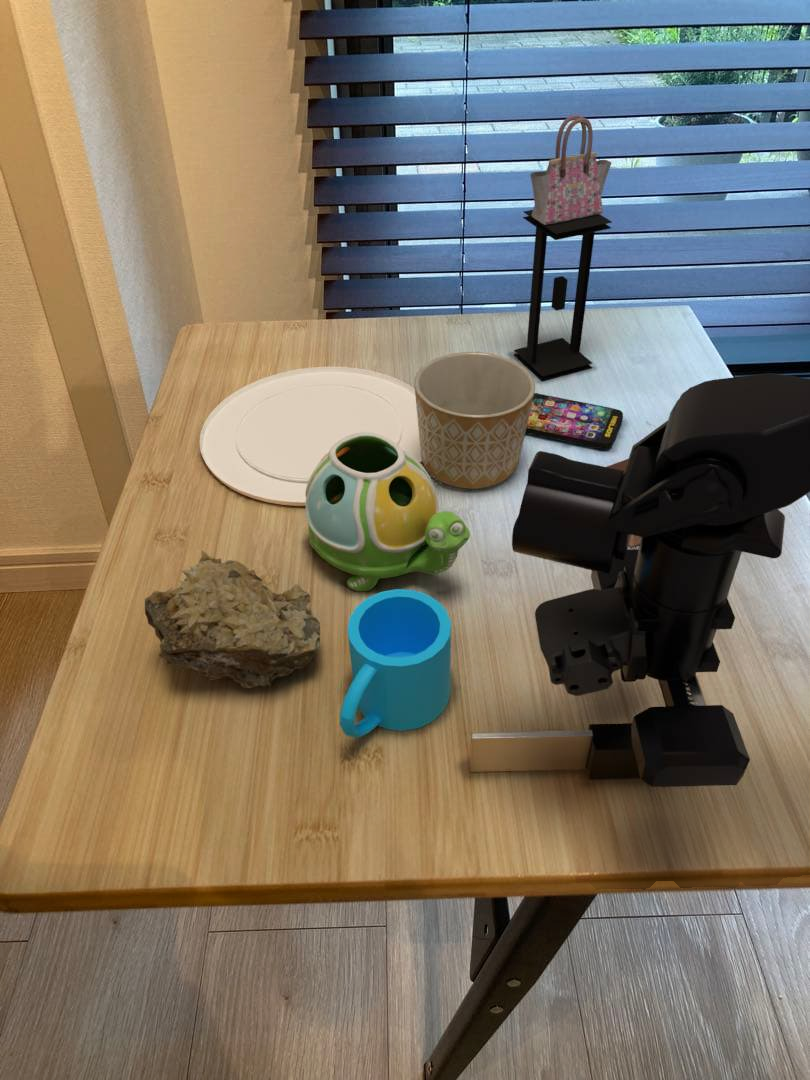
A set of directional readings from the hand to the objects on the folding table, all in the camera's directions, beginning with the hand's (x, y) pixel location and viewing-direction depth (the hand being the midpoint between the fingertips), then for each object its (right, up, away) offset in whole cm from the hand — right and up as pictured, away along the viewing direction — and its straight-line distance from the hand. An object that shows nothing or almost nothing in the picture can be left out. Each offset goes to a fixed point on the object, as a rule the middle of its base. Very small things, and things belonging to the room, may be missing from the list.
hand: (640, 729), depth 63 cm
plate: (-28, +27, +38) cm, 54 cm away
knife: (-4, -4, +3) cm, 7 cm away
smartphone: (0, +28, +39) cm, 48 cm away
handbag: (+2, +38, +49) cm, 62 cm away
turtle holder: (-19, +12, +22) cm, 32 cm away
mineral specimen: (-31, +4, +14) cm, 35 cm away
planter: (-10, +23, +33) cm, 41 cm away
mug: (-19, 0, +8) cm, 21 cm away
